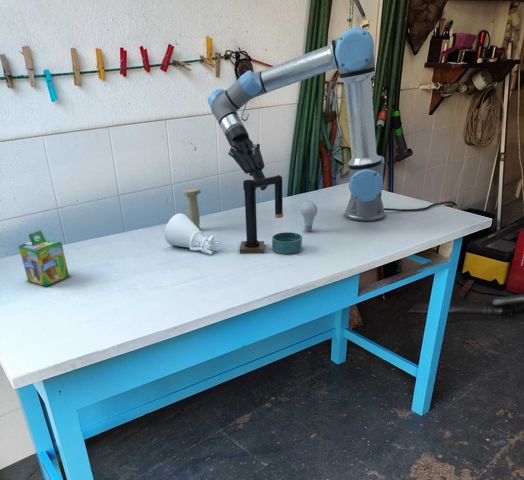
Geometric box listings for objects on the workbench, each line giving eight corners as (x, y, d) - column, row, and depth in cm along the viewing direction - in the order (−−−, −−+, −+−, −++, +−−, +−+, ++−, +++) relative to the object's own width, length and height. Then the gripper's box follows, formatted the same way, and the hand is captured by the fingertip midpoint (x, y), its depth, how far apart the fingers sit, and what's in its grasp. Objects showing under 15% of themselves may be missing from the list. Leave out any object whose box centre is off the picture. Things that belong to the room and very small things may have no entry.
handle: (205, 229, 200) (202, 189, 192) (192, 233, 196) (188, 192, 189) (198, 226, 203) (194, 187, 195) (184, 230, 200) (180, 190, 192)
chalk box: (46, 287, 157) (33, 239, 149) (26, 281, 161) (13, 235, 153) (70, 276, 163) (59, 230, 156) (51, 271, 168) (40, 226, 160)
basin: (301, 244, 183) (301, 232, 180) (302, 254, 174) (302, 241, 172) (272, 244, 183) (272, 232, 181) (272, 255, 174) (271, 242, 172)
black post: (264, 245, 183) (262, 187, 173) (263, 253, 176) (261, 193, 166) (241, 245, 184) (238, 187, 173) (239, 253, 177) (236, 193, 166)
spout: (250, 226, 173) (248, 183, 166) (242, 224, 176) (240, 181, 168) (286, 217, 181) (285, 175, 174) (278, 214, 184) (277, 173, 176)
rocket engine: (219, 226, 171) (178, 206, 178) (200, 254, 170) (159, 234, 177) (230, 243, 182) (191, 224, 189) (212, 270, 181) (174, 250, 187)
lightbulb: (298, 233, 193) (298, 203, 187) (303, 228, 198) (303, 199, 192) (313, 234, 191) (314, 204, 185) (318, 229, 196) (319, 200, 190)
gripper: (245, 136, 192) (274, 190, 189) (215, 140, 185) (245, 197, 182) (253, 122, 185) (284, 178, 182) (223, 126, 178) (254, 184, 176)
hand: (264, 187), depth 182 cm, fingers closed
